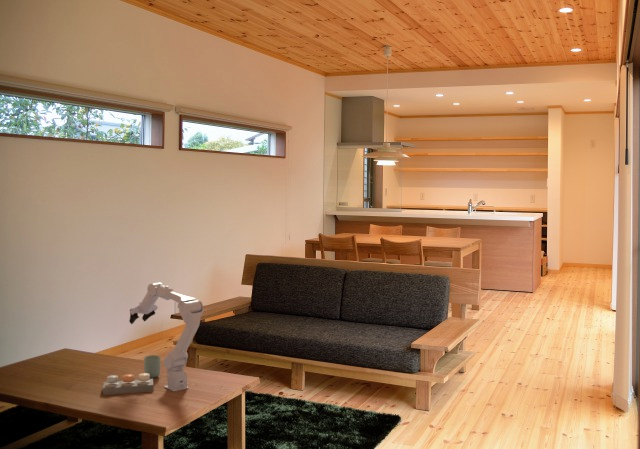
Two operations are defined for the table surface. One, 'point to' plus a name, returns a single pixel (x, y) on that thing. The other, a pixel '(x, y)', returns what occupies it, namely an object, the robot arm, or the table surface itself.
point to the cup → (152, 365)
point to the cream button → (144, 377)
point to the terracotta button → (128, 378)
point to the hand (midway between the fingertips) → (137, 321)
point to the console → (127, 387)
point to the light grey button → (112, 379)
